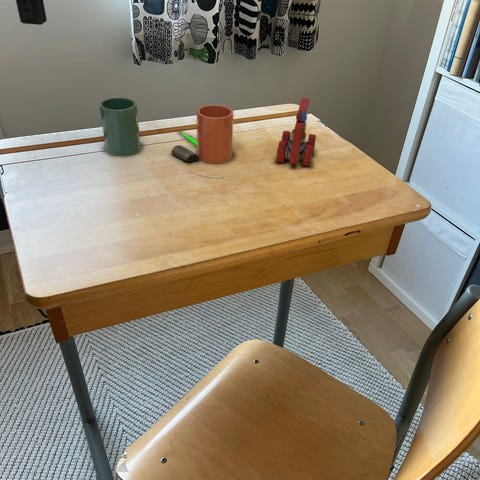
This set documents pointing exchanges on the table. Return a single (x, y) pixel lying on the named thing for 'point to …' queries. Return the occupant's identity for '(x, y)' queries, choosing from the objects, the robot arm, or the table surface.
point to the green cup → (120, 126)
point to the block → (184, 153)
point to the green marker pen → (191, 139)
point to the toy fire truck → (297, 139)
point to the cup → (214, 133)
